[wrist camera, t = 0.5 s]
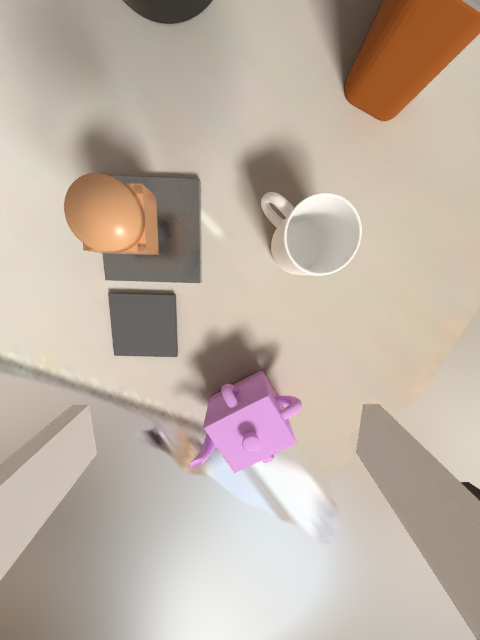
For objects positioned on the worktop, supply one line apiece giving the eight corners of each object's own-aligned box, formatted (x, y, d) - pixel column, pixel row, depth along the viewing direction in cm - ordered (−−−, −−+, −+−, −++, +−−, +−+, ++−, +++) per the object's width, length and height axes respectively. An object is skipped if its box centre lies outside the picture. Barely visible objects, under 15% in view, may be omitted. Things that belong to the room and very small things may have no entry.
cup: (298, 285, 34) (322, 290, 25) (240, 232, 33) (241, 214, 23) (336, 243, 33) (378, 230, 23) (277, 185, 31) (296, 145, 22)
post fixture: (100, 178, 31) (44, 140, 22) (200, 182, 31) (186, 145, 22) (110, 279, 34) (64, 282, 25) (201, 282, 34) (188, 286, 25)
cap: (98, 193, 27) (59, 171, 21) (156, 195, 27) (134, 174, 21) (104, 254, 28) (69, 249, 22) (159, 255, 28) (139, 251, 22)
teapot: (218, 450, 41) (211, 508, 31) (177, 391, 38) (156, 433, 28) (305, 407, 39) (329, 453, 29) (269, 342, 36) (281, 368, 27)
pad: (111, 292, 34) (108, 293, 34) (175, 294, 35) (174, 295, 34) (116, 353, 36) (114, 355, 36) (177, 355, 37) (176, 357, 36)
